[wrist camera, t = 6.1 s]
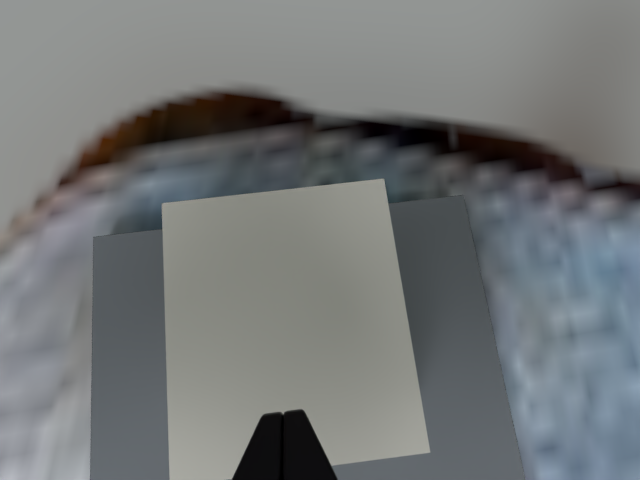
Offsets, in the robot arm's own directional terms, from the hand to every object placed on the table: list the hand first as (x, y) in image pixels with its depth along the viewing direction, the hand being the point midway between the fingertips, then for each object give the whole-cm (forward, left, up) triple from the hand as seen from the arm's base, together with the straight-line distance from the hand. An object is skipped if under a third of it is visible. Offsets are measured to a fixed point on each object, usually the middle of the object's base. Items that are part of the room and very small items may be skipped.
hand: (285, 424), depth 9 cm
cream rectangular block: (-2, 0, -5) cm, 5 cm away
